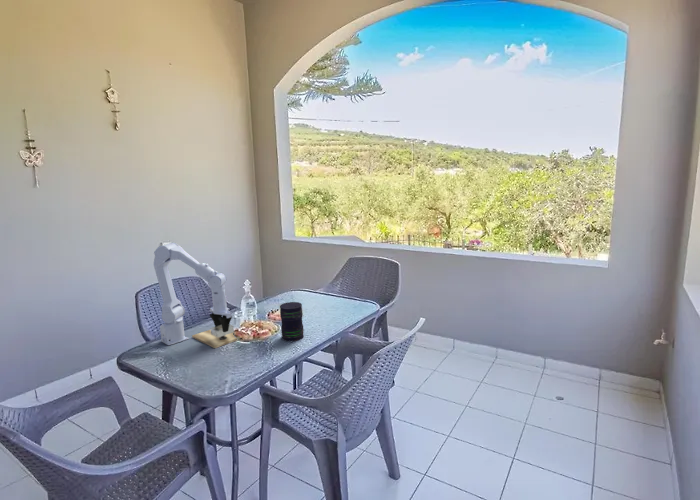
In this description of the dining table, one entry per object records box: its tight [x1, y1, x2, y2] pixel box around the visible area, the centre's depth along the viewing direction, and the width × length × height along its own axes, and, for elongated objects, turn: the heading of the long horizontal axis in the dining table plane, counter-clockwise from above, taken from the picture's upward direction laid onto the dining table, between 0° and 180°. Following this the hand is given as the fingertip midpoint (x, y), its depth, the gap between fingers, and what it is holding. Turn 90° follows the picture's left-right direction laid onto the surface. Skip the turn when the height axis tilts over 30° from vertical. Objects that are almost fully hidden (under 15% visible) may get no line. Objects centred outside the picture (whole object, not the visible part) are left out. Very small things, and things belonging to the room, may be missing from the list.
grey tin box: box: [210, 324, 235, 337], centre depth 193 cm, size 8×6×3 cm
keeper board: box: [191, 329, 238, 349], centre depth 197 cm, size 14×20×5 cm
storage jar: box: [279, 301, 305, 342], centre depth 194 cm, size 10×10×15 cm
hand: (222, 330), depth 193 cm, fingers closed on grey tin box, 5 cm apart
